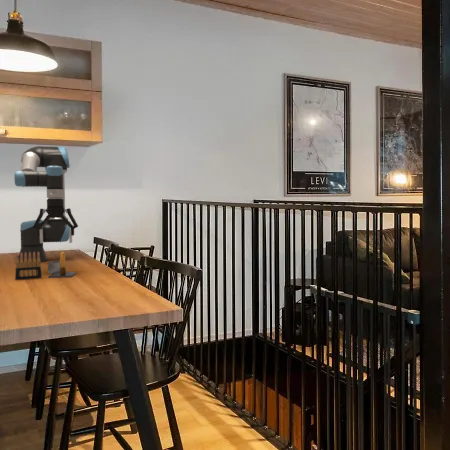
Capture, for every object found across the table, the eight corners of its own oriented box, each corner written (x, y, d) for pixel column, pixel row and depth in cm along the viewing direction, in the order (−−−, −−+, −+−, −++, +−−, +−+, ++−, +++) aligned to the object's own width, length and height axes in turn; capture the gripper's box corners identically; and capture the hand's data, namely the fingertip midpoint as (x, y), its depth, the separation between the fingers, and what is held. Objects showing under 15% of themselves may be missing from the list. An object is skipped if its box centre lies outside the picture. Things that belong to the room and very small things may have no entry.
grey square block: (51, 271, 230) (51, 261, 230) (65, 271, 231) (65, 260, 231) (48, 273, 224) (47, 262, 224) (62, 273, 225) (62, 262, 224)
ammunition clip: (15, 279, 207) (14, 252, 206) (15, 279, 209) (14, 252, 208) (41, 277, 212) (40, 251, 211) (41, 277, 213) (40, 250, 213)
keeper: (54, 273, 224) (54, 250, 223) (76, 273, 225) (76, 250, 224) (48, 277, 212) (47, 253, 211) (71, 277, 213) (70, 253, 212)
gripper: (25, 198, 220) (26, 243, 221) (80, 198, 223) (81, 243, 224) (30, 198, 228) (31, 242, 229) (83, 198, 231) (84, 241, 232)
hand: (56, 242), depth 227 cm, fingers open, 13 cm apart
